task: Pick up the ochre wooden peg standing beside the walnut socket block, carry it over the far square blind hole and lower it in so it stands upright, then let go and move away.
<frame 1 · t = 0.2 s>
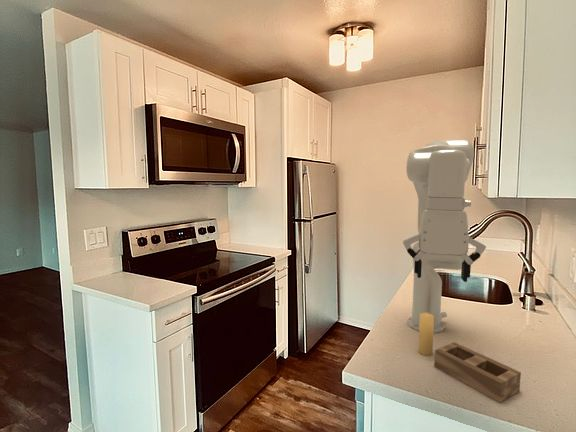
hand: (441, 278, 77), 31 cm above the counter, tool pointing down, fingers open, 9 cm apart
socket block: (474, 377, 89), on the counter
peg: (425, 352, 103), on the counter
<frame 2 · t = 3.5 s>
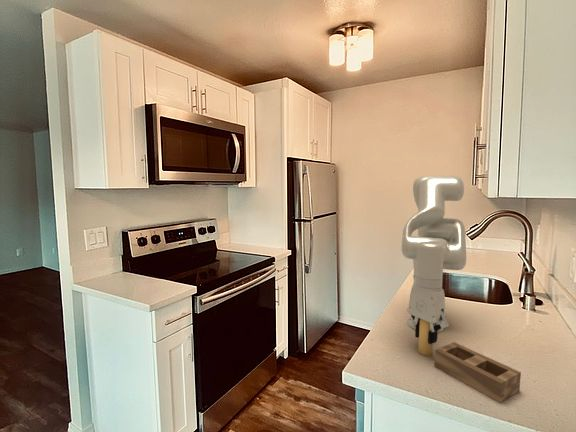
hand: (425, 339, 102), 4 cm above the counter, tool pointing down, fingers closed on peg, 4 cm apart
peg: (425, 352, 103), on the counter, touching gripper
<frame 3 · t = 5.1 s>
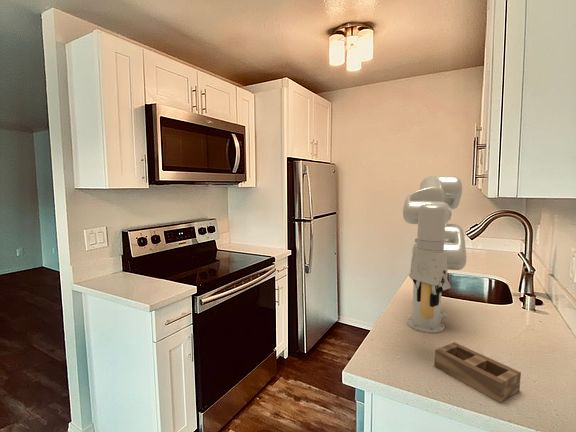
hand: (427, 302, 102), 16 cm above the counter, tool pointing down, fingers closed on peg, 4 cm apart
peg: (426, 316, 102), point 11 cm above the counter, touching gripper
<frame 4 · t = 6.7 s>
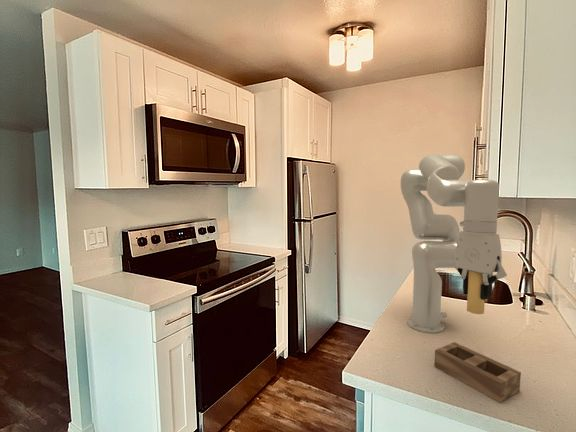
hand: (476, 295, 87), 23 cm above the counter, tool pointing down, fingers closed on peg, 4 cm apart
peg: (475, 311, 88), point 19 cm above the counter, touching gripper
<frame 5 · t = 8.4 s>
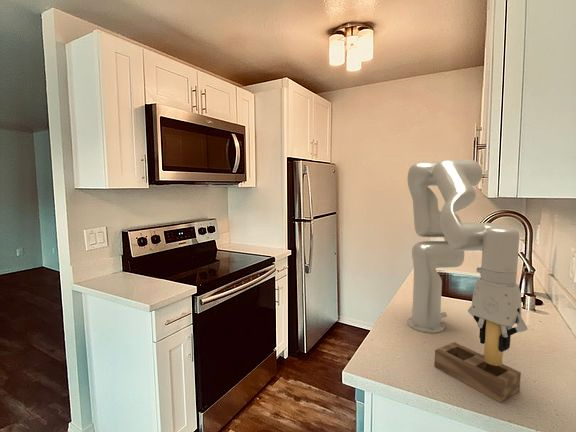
hand: (493, 345, 84), 11 cm above the counter, tool pointing down, fingers closed on peg, 4 cm apart
peg: (492, 361, 85), point 7 cm above the counter, touching gripper
when the fingers open (6 cm above the counter, at t = 9.8 s): peg stays where it is, resting on socket block.
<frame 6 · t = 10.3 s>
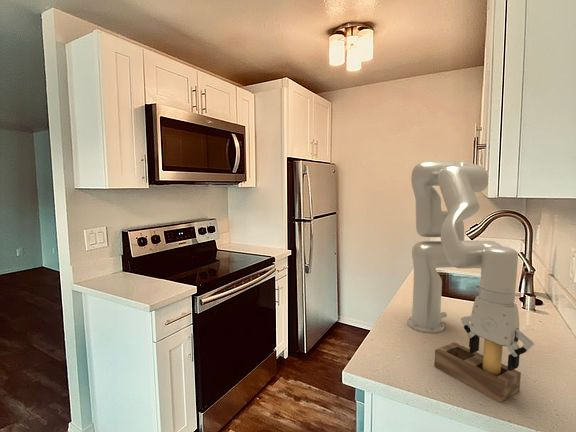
hand: (492, 359, 85), 7 cm above the counter, tool pointing down, fingers open, 9 cm apart
peg: (490, 382, 86), point 1 cm above the counter, touching socket block
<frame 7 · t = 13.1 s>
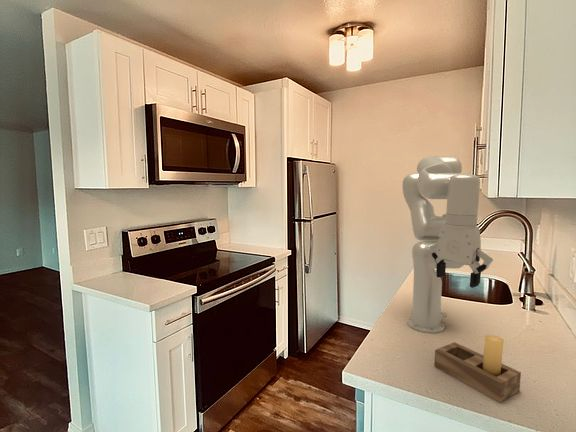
hand: (456, 281, 92), 25 cm above the counter, tool pointing down, fingers open, 9 cm apart
nothing on the counter moved.
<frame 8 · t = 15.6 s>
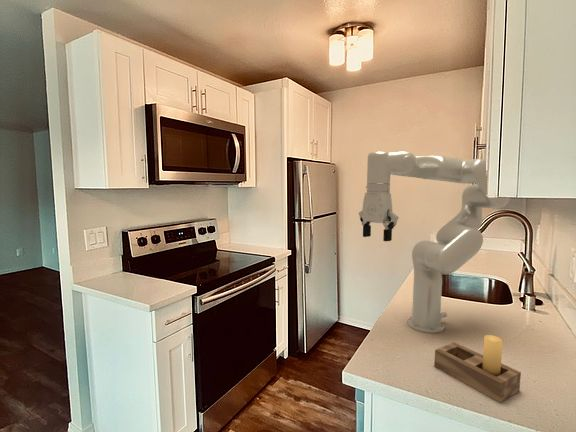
hand: (376, 238, 113), 33 cm above the counter, tool pointing down, fingers open, 9 cm apart
nothing on the counter moved.
at the end: peg 0.1 cm from the target spot on the socket block, point 1.0 cm above the socket block's base; peg tilted 1°; the gripper is holding nothing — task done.
